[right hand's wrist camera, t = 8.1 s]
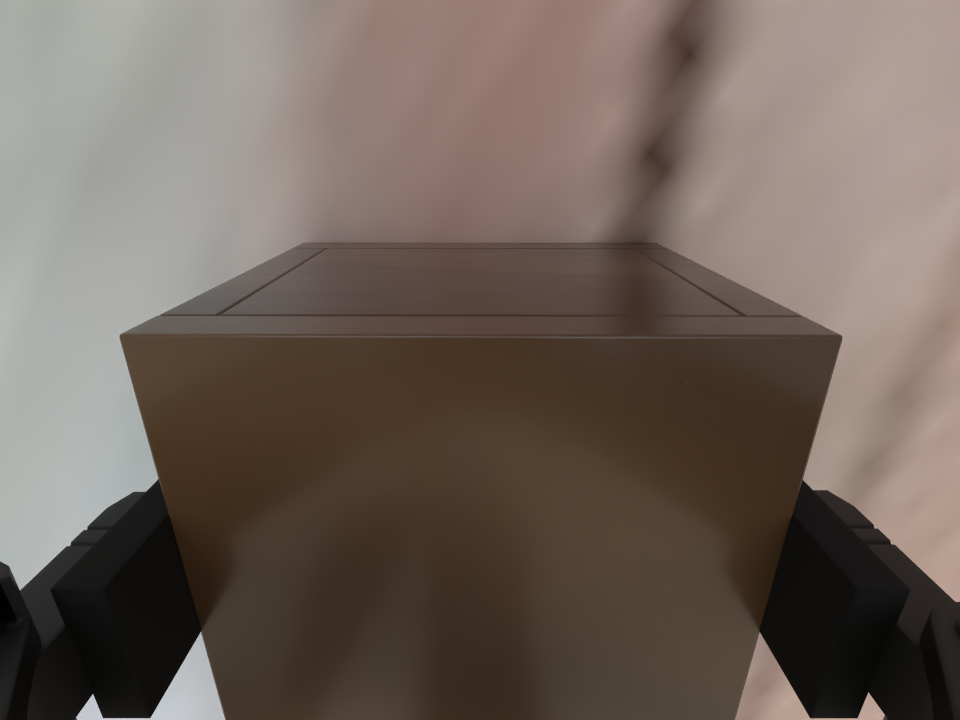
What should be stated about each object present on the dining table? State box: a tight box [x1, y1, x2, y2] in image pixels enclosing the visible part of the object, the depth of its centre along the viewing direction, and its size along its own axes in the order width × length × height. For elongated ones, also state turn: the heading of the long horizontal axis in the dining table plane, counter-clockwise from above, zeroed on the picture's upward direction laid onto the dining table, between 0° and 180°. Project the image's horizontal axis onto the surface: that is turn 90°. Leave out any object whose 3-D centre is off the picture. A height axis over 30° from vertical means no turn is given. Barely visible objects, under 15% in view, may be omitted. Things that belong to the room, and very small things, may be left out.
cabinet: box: [120, 243, 842, 720], centre depth 14 cm, size 16×11×8 cm, turn 0°
